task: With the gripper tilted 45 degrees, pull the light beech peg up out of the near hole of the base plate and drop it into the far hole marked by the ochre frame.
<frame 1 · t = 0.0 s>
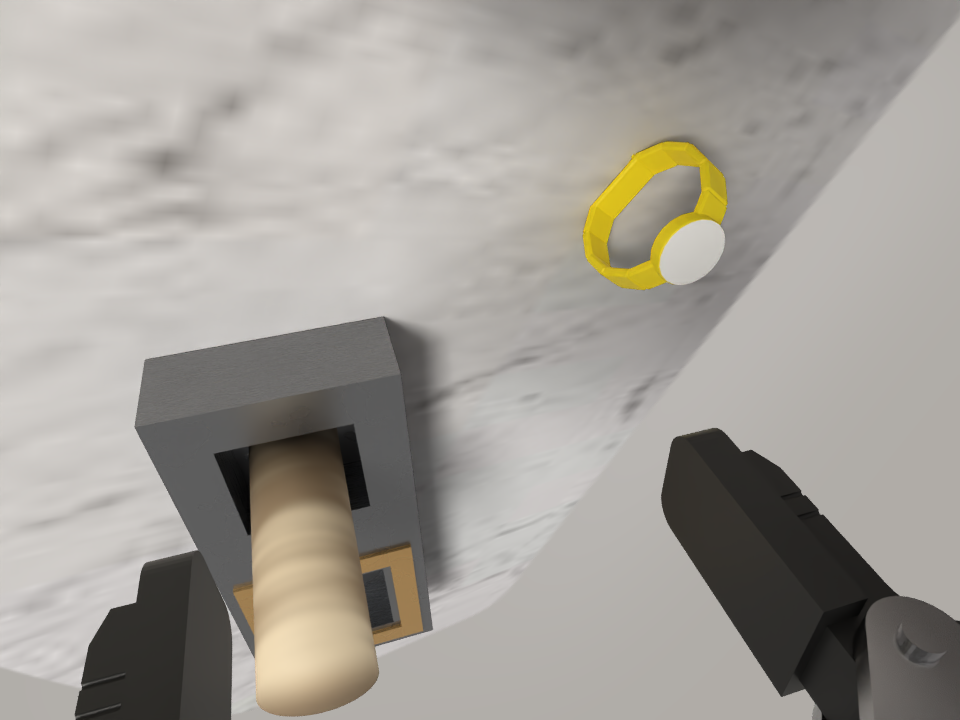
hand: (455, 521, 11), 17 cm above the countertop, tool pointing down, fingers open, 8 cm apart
peg: (293, 433, 31), point 1 cm above the countertop, touching base plate
base plate: (312, 490, 35), on the countertop
watch: (619, 185, 29), on the countertop
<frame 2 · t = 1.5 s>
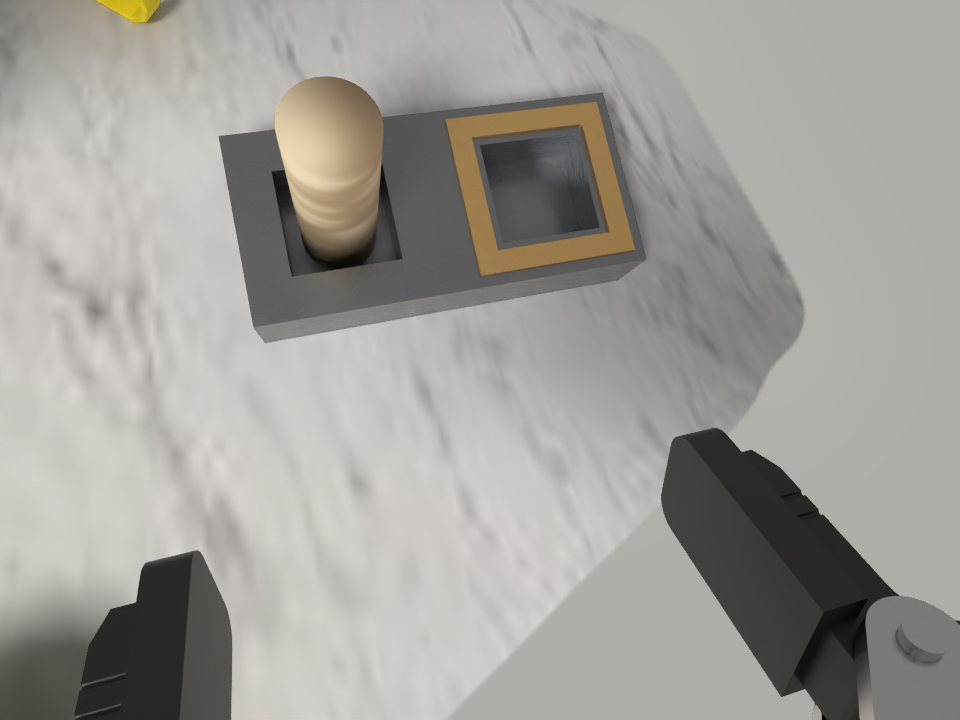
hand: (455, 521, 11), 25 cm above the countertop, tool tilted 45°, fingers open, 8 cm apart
peg: (339, 235, 36), point 1 cm above the countertop, touching base plate
base plate: (433, 227, 38), on the countertop
watch: (119, 3, 37), on the countertop
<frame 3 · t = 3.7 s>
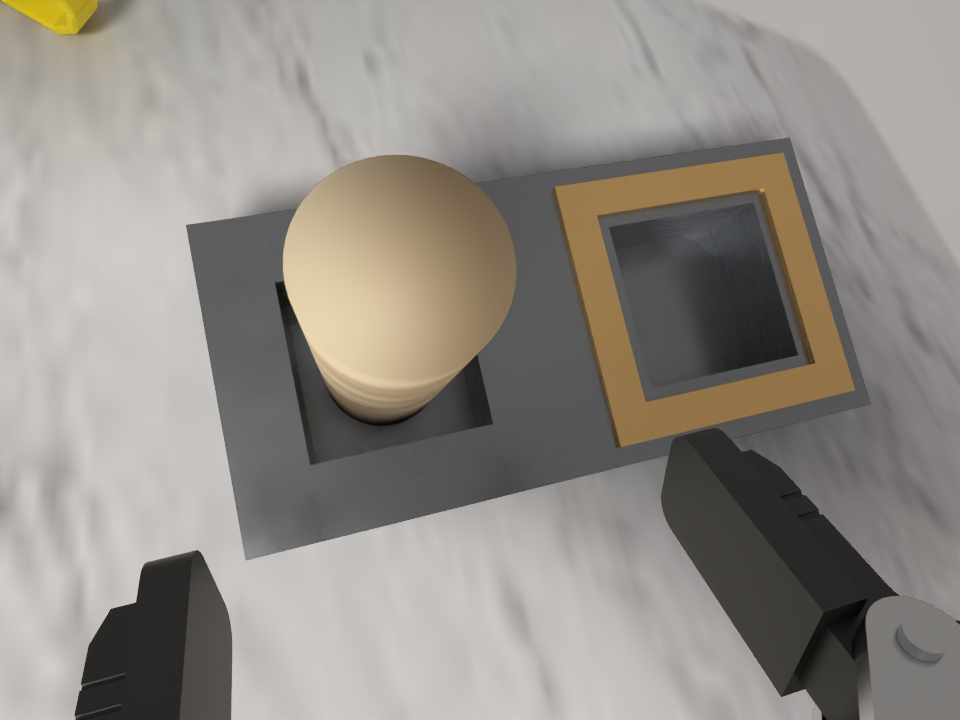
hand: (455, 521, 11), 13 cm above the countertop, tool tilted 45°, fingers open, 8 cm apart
peg: (382, 368, 23), point 1 cm above the countertop, touching base plate
base plate: (523, 344, 25), on the countertop
watch: (38, 5, 24), on the countertop
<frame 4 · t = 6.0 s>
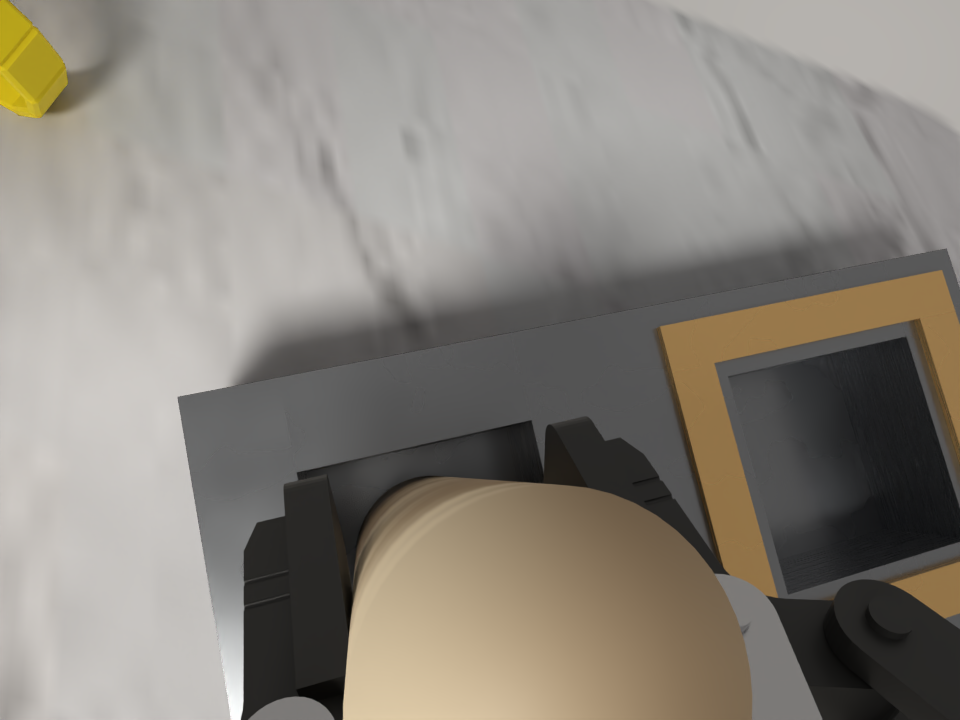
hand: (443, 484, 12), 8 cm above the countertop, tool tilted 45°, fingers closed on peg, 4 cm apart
peg: (430, 550, 18), point 1 cm above the countertop, touching gripper, base plate
base plate: (603, 500, 20), on the countertop
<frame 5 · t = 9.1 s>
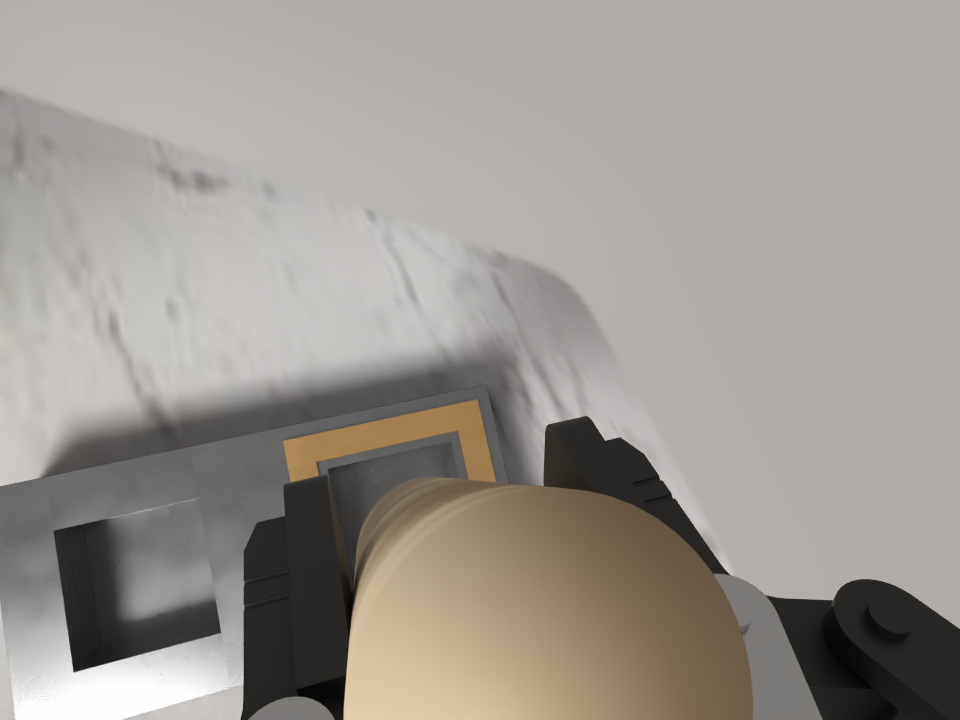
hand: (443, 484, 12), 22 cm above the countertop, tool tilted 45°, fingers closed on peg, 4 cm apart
peg: (431, 551, 18), point 15 cm above the countertop, touching gripper
base plate: (286, 538, 32), on the countertop
when the fingers open (9 cm above the countertop, at t = 12.4 s): peg drops 1 cm, resting on base plate.
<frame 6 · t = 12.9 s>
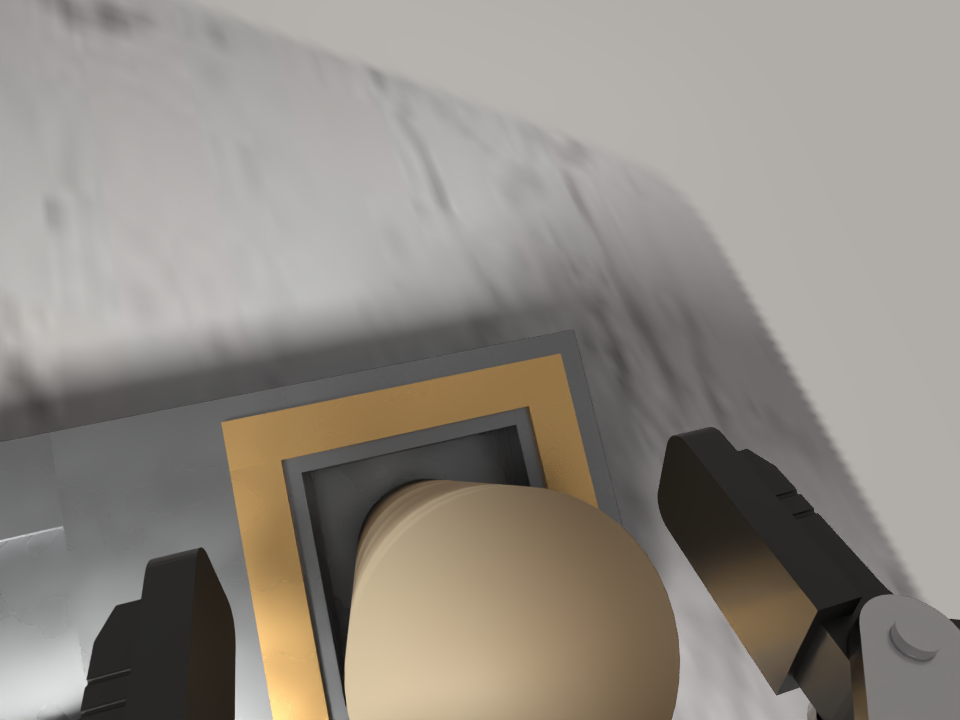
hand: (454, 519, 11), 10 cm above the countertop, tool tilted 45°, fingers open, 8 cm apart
peg: (426, 547, 19), point 1 cm above the countertop, touching base plate
base plate: (238, 587, 19), on the countertop
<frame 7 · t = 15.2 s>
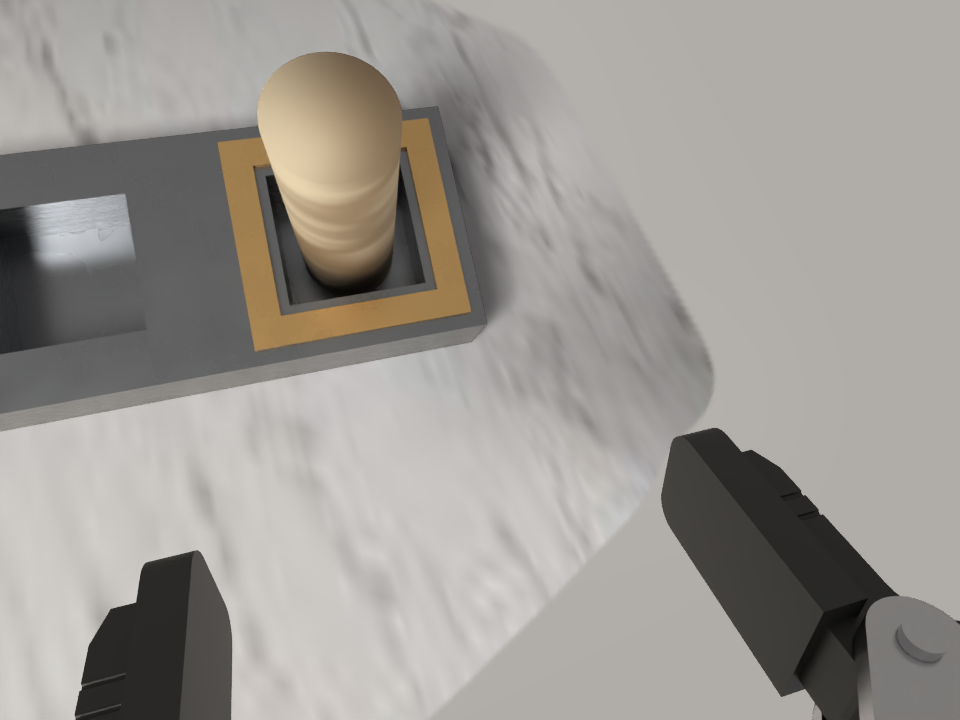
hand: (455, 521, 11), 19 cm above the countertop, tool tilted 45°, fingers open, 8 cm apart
peg: (348, 254, 30), point 1 cm above the countertop, touching base plate
base plate: (228, 278, 30), on the countertop
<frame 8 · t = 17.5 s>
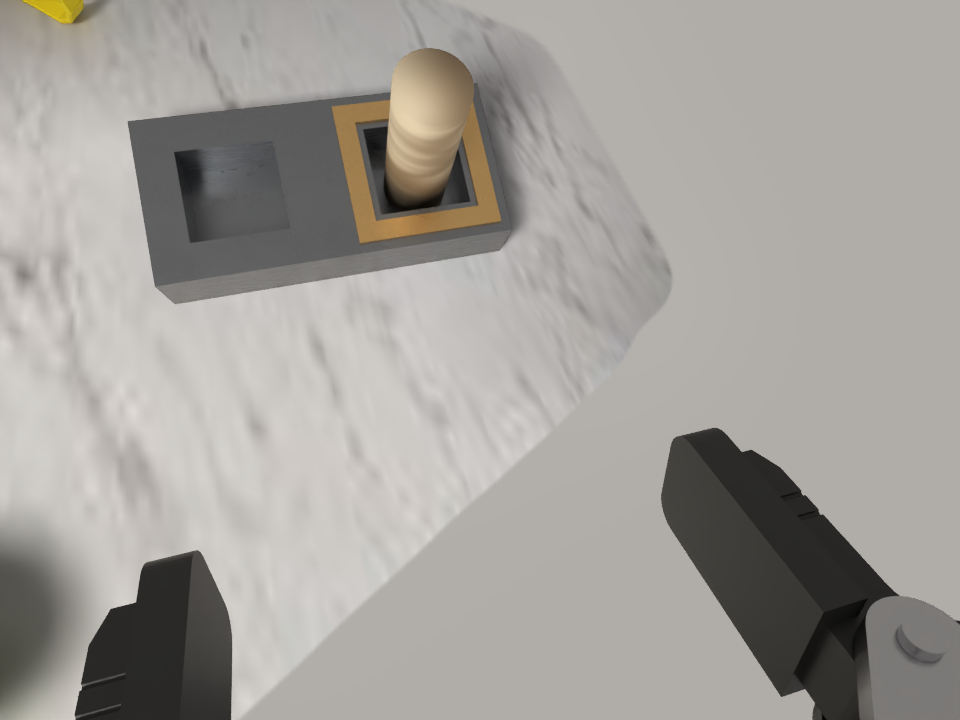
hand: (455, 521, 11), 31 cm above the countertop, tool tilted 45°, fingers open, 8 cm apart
peg: (414, 187, 43), point 1 cm above the countertop, touching base plate
base plate: (330, 204, 43), on the countertop
watch: (50, 6, 42), on the countertop
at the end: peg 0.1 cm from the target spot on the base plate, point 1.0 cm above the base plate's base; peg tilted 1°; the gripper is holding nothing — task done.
